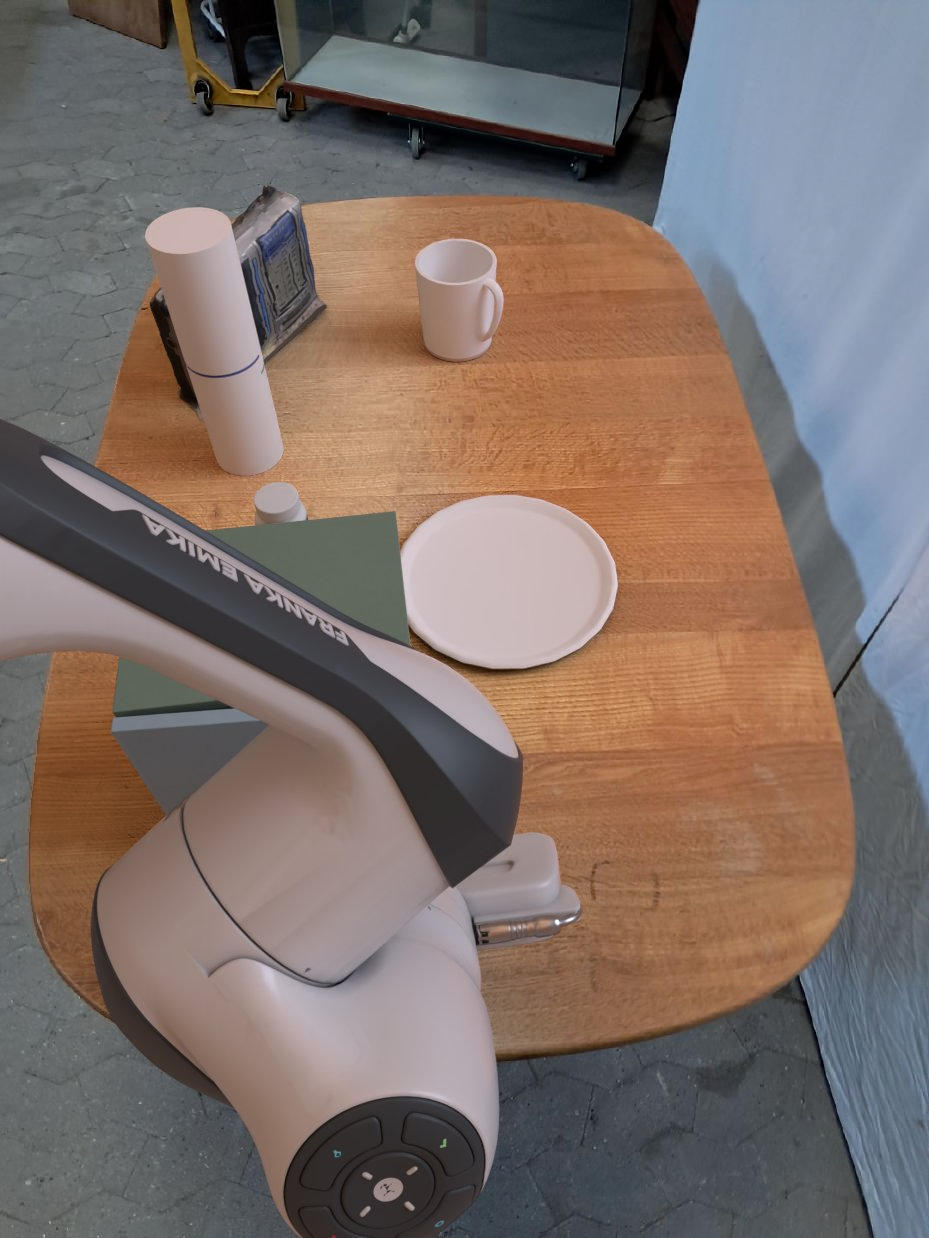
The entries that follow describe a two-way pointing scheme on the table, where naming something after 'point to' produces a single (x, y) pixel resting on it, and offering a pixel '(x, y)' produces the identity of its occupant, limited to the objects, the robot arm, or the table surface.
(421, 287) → the mug
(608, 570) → the plate
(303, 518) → the pill bottle
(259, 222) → the radio
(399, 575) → the cupboard
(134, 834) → the table surface
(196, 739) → the cabinet door
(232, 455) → the cylindrical container
